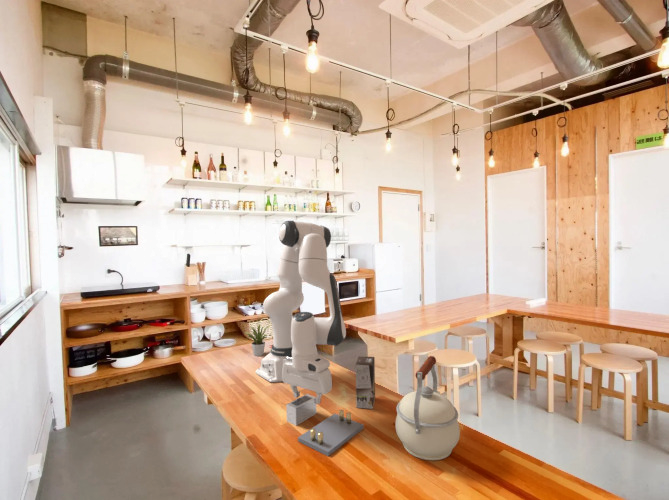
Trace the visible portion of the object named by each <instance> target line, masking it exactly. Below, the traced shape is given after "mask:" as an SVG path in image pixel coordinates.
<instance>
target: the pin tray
mask: <svg viewBox="0 0 669 500" xmlns="http://www.w3.org/2000/svg"><path fill="white" fill-rule="evenodd" d="M364 427H365V426H364V424H363V423H360V422H358V421H355V420H352V413H351V412H347V413H346V414H345V411H344V410H343V409H339V411H338V414H337V413H333V414H331V415H330V416H329V417H327V418H325V419H324V420H323V421H321V422H319V423H318V424H316V425H315V426H313V427H312V428H310V429H309V430H307V431H306V432H304V433H303V434H301V435H300V436H298V437H297V441H298V443H301V444H303V445H305V446H307V447H309V448H311V449H313V450H315V451H317V452H318V453H321V454H322V455H325V456H327V457H329V456H330V455H332V454H333V453H335V452H336V451H337V450H339V448H341V447H342V446H343V445H344V444H346V443H347V442H348V441H350V440H351V439H352V438H353V437H354V436H356V435H357V434H359V432H361V431H362V430H363V429H364Z"/></svg>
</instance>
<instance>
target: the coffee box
mask: <svg viewBox="0 0 669 500" xmlns="http://www.w3.org/2000/svg"><path fill="white" fill-rule="evenodd" d="M375 364H376V363H375V356H358V357H357V360H356V363H355V405H356V406H355V407H356V408H358V409H360V408H361V409H370V410H373V409H374V405H375V399H376V378H375V377H376V373H375V372H376V371H375V369H376V367H375V366H376V365H375Z"/></svg>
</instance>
